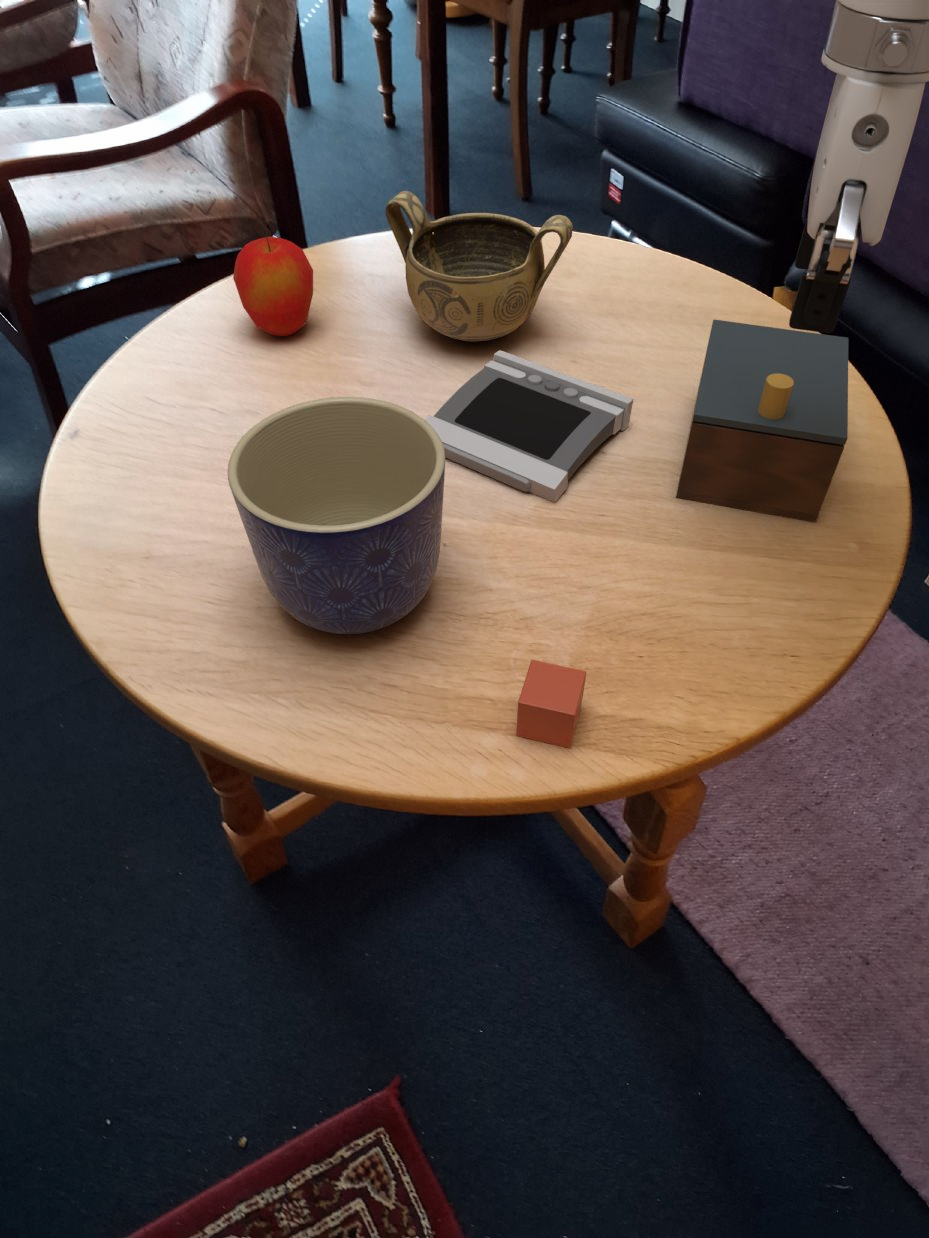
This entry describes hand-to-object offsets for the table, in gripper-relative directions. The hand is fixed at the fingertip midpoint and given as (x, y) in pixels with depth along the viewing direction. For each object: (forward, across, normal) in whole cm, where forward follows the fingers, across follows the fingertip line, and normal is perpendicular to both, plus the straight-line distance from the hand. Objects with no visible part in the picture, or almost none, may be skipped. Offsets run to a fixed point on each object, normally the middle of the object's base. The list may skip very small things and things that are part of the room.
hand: (812, 297), depth 68 cm
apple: (+24, +22, +58) cm, 67 cm away
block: (+24, -27, +13) cm, 38 cm away
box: (+24, +12, 0) cm, 27 cm away
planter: (+24, -18, +33) cm, 45 cm away
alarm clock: (+24, +9, +24) cm, 35 cm away
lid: (+15, +12, 0) cm, 19 cm away
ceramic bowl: (+24, +29, +35) cm, 52 cm away
